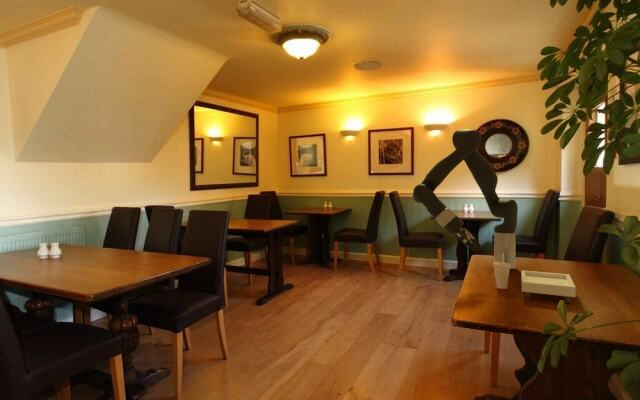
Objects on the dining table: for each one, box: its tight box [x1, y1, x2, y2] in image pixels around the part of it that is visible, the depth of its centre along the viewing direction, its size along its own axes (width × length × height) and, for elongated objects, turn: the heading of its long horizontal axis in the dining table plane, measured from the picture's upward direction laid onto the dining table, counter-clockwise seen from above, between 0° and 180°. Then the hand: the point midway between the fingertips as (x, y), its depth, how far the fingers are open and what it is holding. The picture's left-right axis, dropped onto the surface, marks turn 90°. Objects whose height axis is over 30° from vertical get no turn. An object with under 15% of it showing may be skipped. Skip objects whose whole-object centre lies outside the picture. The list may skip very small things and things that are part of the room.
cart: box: [520, 270, 577, 304], centre depth 137 cm, size 18×16×6 cm
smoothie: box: [492, 253, 511, 290], centre depth 148 cm, size 6×6×14 cm
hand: (478, 249), depth 151 cm, fingers open, 8 cm apart
